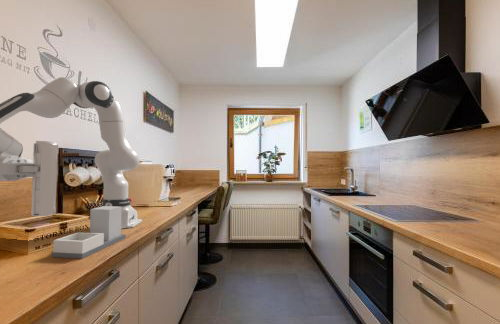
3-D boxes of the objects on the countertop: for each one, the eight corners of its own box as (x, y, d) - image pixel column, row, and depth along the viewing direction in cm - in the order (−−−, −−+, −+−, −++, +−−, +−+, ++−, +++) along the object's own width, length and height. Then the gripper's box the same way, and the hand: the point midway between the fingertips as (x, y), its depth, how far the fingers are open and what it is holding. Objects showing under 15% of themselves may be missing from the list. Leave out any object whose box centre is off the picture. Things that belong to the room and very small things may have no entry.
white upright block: (27, 214, 85) (30, 140, 85) (49, 211, 91) (52, 142, 91) (36, 217, 82) (39, 140, 82) (59, 213, 88) (62, 141, 88)
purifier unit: (101, 236, 109) (102, 205, 110) (125, 237, 108) (126, 206, 108) (51, 256, 85) (53, 216, 85) (82, 258, 84) (83, 217, 84)
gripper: (-25, 158, 77) (17, 158, 76) (35, 159, 97) (70, 160, 96) (-26, 179, 77) (17, 179, 76) (35, 176, 97) (69, 176, 96)
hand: (47, 168), depth 86 cm, fingers closed on white upright block, 5 cm apart
